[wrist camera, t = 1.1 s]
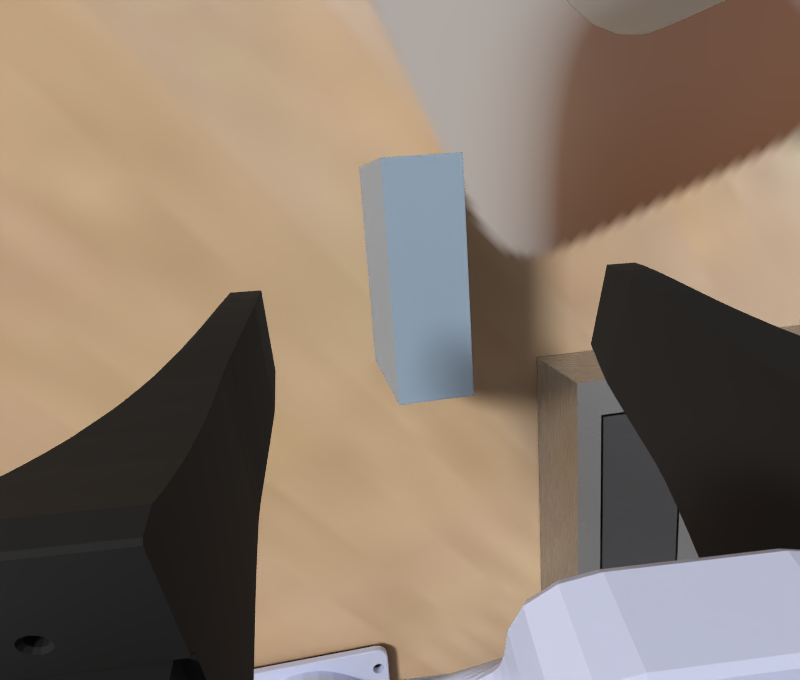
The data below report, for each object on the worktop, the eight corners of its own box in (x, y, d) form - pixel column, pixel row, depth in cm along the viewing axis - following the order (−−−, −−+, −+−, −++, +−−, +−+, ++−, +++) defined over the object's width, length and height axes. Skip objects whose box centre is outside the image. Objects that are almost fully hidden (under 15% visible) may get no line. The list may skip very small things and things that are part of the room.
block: (434, 352, 27) (474, 395, 21) (375, 359, 26) (399, 405, 20) (422, 163, 25) (462, 152, 19) (359, 167, 24) (380, 157, 18)
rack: (820, 551, 33) (895, 601, 29) (541, 604, 30) (580, 666, 26) (845, 319, 30) (932, 338, 26) (537, 357, 27) (579, 384, 23)
